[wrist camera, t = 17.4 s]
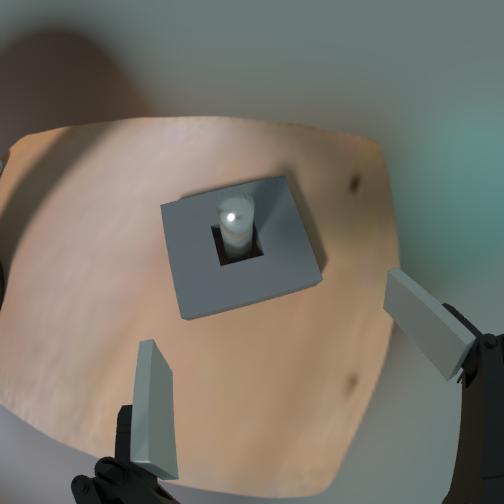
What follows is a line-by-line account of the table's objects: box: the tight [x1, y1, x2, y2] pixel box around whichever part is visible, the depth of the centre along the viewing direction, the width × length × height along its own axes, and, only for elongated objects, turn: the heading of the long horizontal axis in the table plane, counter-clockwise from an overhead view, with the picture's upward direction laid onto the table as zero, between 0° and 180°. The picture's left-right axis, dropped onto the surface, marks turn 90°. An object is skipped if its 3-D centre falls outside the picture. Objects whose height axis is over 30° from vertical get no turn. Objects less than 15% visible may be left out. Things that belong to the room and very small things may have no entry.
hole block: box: [160, 176, 323, 320], centre depth 32 cm, size 16×14×4 cm
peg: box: [216, 189, 255, 263], centre depth 28 cm, size 3×3×12 cm
